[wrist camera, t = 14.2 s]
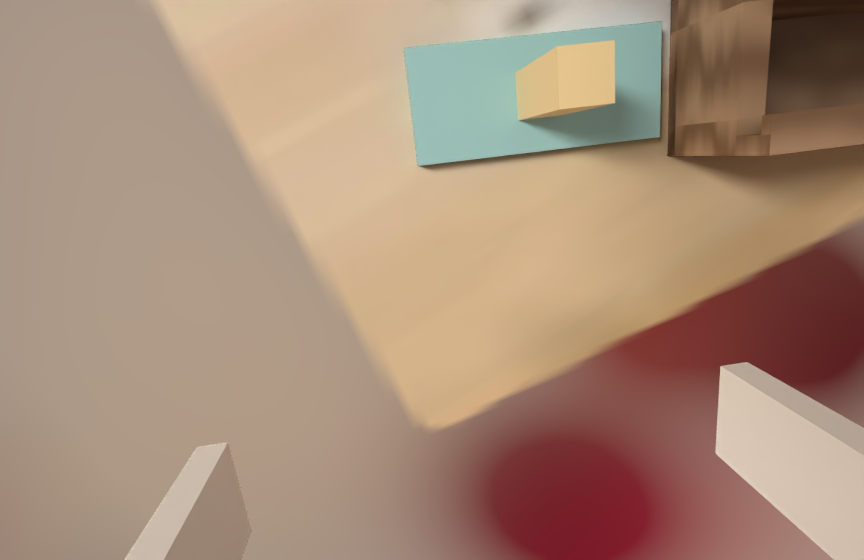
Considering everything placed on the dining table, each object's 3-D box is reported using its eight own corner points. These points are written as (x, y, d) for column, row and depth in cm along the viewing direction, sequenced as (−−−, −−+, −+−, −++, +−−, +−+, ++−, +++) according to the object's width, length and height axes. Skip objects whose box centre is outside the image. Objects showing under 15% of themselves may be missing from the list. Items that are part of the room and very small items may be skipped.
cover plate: (403, 52, 36) (411, 11, 26) (649, 27, 38) (750, -22, 27) (417, 165, 39) (429, 168, 28) (647, 137, 40) (740, 131, 30)
